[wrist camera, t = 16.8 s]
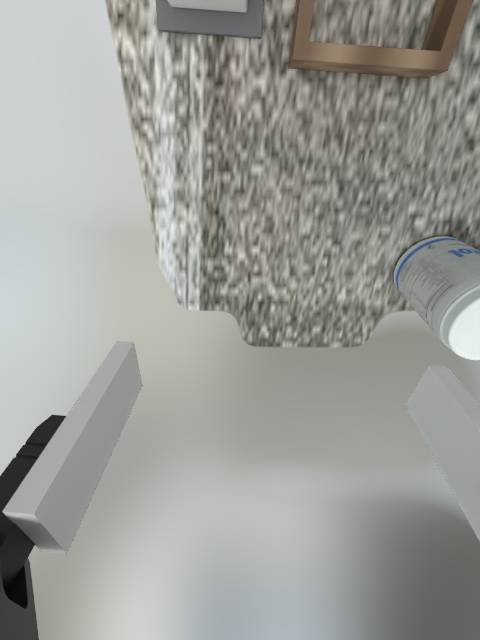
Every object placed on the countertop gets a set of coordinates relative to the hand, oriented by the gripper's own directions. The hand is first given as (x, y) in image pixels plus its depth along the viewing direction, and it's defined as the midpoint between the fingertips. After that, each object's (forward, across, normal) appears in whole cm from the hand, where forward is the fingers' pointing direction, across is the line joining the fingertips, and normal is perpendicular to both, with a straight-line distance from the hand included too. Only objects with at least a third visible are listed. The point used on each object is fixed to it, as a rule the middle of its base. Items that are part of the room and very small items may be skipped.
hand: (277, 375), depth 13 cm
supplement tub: (+29, +24, -5) cm, 38 cm away
